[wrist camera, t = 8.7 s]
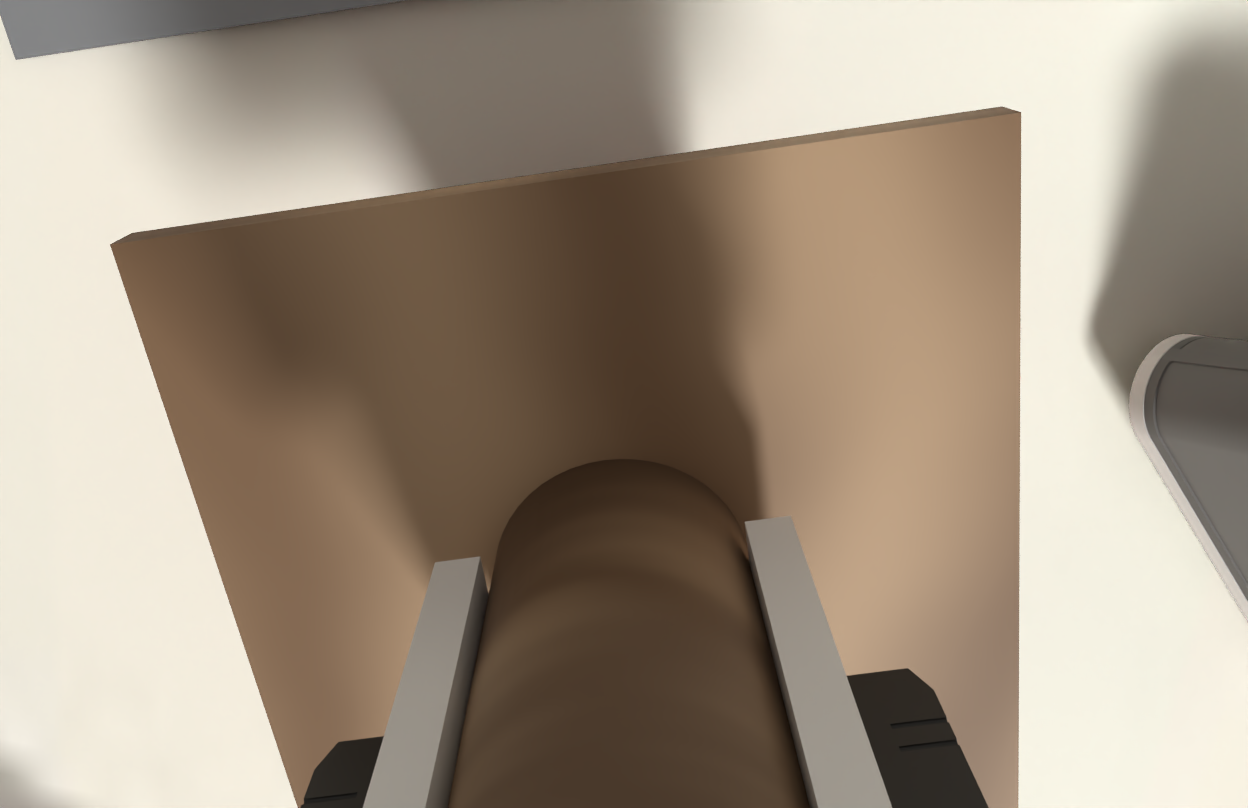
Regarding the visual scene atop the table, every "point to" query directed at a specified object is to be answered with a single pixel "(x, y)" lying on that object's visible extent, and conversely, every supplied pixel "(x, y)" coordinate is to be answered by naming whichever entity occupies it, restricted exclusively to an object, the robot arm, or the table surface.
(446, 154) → the table surface
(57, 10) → the mat
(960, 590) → the lid
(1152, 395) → the camera
